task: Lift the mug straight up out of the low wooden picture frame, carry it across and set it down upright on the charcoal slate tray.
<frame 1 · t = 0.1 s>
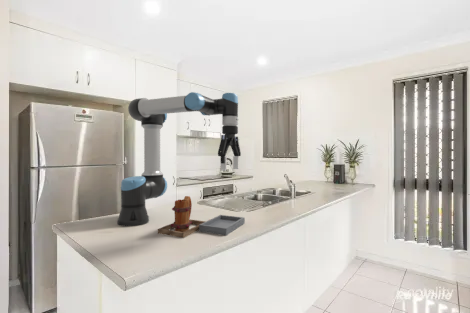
hand: (230, 169, 122), 28 cm above the countertop, fingers open, 13 cm apart
mug: (184, 229, 118), resting in wooden picture frame
tray: (223, 227, 122), on the countertop
wooden picture frame: (184, 229, 118), on the countertop
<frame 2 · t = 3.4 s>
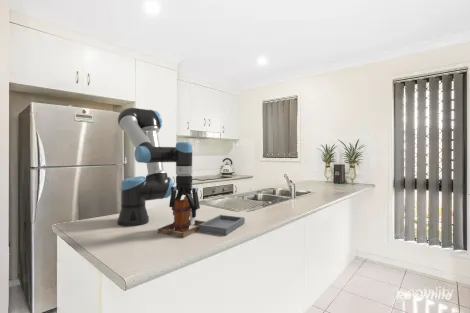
hand: (184, 223, 118), 3 cm above the countertop, fingers closed on mug, 8 cm apart
mug: (183, 229, 118), resting in wooden picture frame, touching gripper
when the fingers open (5 cm above the countertop, at t = 9.8 s): mug stays where it is, resting on tray.
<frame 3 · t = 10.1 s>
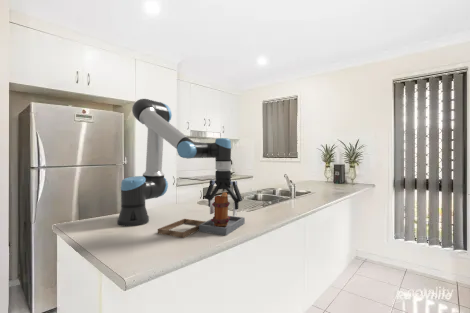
hand: (223, 214, 122), 6 cm above the countertop, fingers open, 12 cm apart
mug: (222, 225, 122), point 1 cm above the countertop, touching tray
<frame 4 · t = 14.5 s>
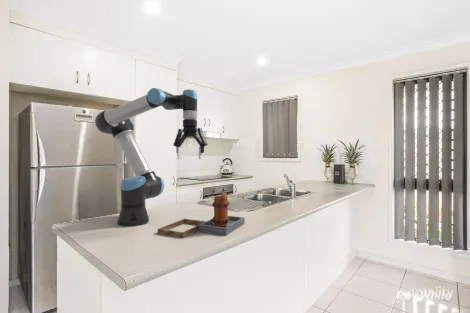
hand: (190, 159, 135), 33 cm above the countertop, fingers open, 13 cm apart
nothing on the countertop moved.
at the end: mug inside the target area on the tray (0.4 cm from its centre), point 1.0 cm above the tray's base; mug tilted 0°; the gripper is holding nothing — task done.
